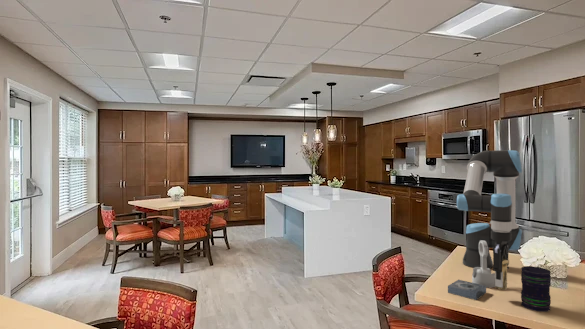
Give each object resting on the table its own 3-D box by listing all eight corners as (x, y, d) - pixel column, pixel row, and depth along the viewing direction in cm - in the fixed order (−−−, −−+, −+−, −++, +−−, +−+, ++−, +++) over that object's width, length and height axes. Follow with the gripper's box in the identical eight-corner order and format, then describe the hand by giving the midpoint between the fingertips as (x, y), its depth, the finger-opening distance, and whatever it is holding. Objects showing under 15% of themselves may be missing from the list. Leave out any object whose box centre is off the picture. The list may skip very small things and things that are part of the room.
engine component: (475, 286, 166) (499, 288, 164) (475, 243, 166) (499, 244, 164) (469, 279, 177) (491, 280, 175) (469, 238, 177) (491, 238, 175)
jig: (458, 285, 167) (458, 279, 167) (486, 292, 159) (486, 286, 159) (447, 292, 159) (447, 285, 159) (476, 300, 150) (476, 293, 150)
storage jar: (543, 302, 147) (544, 267, 147) (555, 312, 138) (555, 274, 137) (517, 300, 149) (517, 265, 149) (526, 310, 140) (526, 272, 140)
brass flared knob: (495, 284, 155) (495, 256, 155) (511, 287, 151) (511, 259, 151) (490, 287, 151) (490, 259, 151) (506, 291, 147) (506, 262, 147)
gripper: (497, 226, 159) (497, 277, 160) (484, 232, 147) (484, 288, 148) (517, 228, 154) (516, 281, 154) (504, 235, 142) (504, 293, 142)
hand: (500, 284), depth 151 cm, fingers closed on brass flared knob, 4 cm apart
